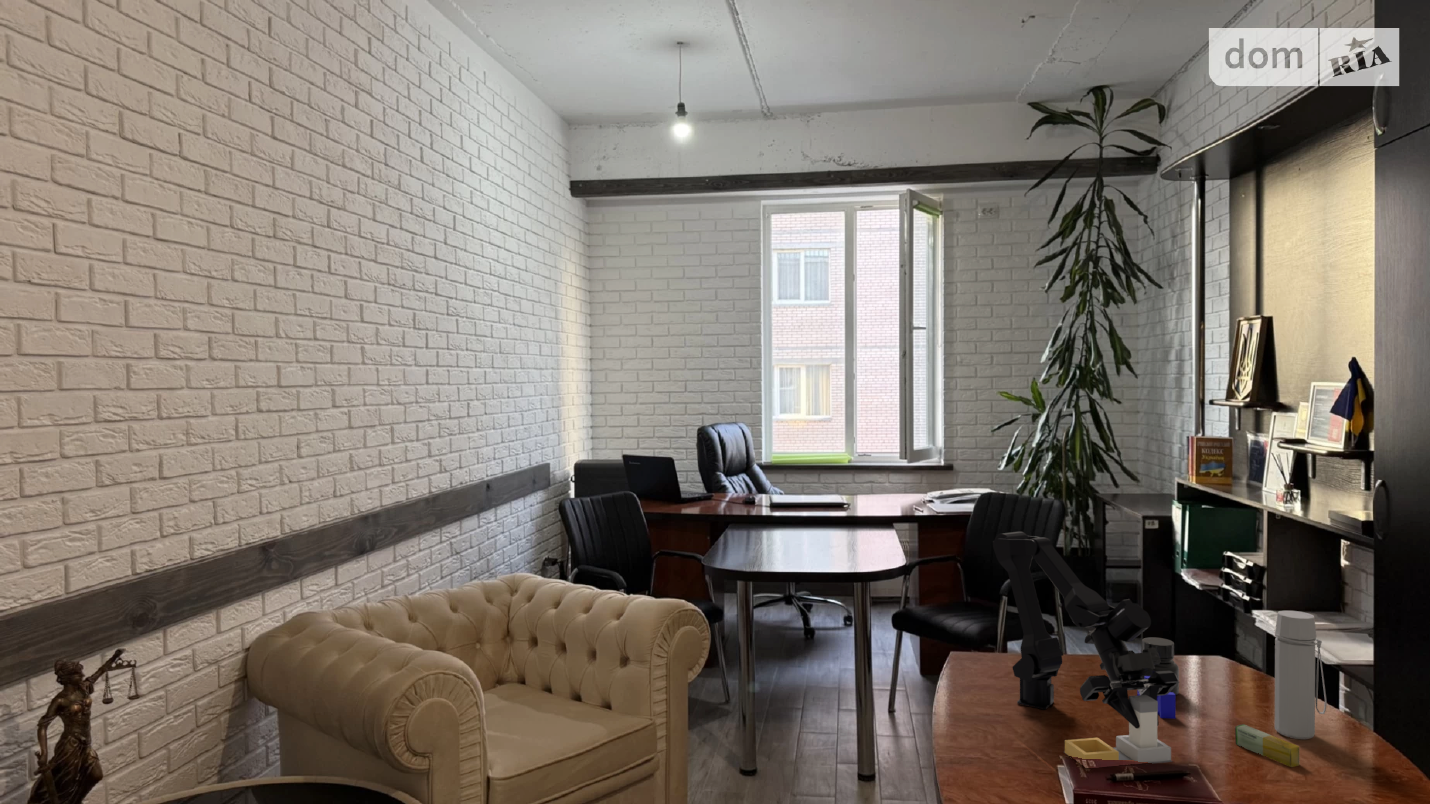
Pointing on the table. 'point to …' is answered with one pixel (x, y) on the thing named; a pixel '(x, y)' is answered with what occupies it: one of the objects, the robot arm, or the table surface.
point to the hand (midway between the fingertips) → (1147, 726)
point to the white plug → (1144, 721)
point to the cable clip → (1165, 704)
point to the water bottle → (1296, 674)
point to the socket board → (1117, 750)
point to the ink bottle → (1162, 657)
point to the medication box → (1267, 745)
